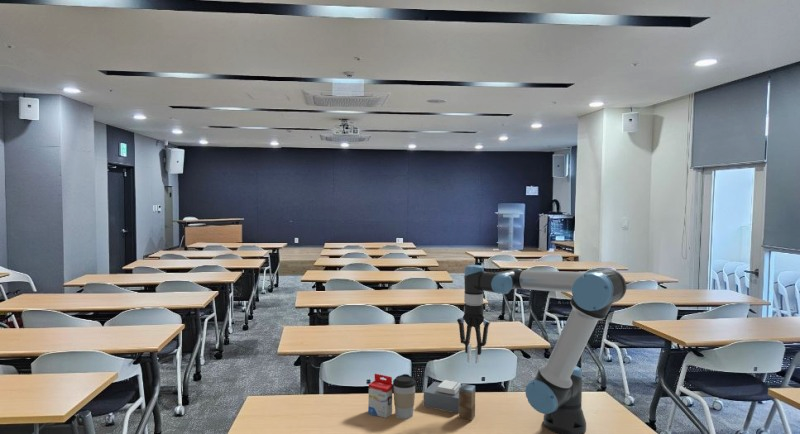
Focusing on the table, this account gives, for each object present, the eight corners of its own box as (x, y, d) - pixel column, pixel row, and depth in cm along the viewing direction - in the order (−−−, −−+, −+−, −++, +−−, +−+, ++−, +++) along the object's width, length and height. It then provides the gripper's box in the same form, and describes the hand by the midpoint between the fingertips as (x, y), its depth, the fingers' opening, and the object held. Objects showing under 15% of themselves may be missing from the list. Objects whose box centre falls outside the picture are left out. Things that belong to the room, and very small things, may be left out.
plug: (475, 416, 180) (475, 385, 180) (471, 421, 176) (471, 390, 175) (462, 413, 182) (463, 383, 182) (458, 419, 178) (459, 388, 177)
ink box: (367, 413, 182) (367, 377, 181) (374, 408, 186) (374, 373, 186) (386, 418, 178) (386, 381, 177) (392, 413, 182) (392, 376, 182)
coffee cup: (413, 421, 176) (413, 382, 175) (390, 419, 177) (390, 380, 177) (417, 410, 185) (417, 373, 184) (395, 408, 186) (395, 372, 186)
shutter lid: (460, 387, 192) (460, 382, 192) (454, 394, 185) (454, 389, 185) (444, 384, 195) (444, 379, 195) (437, 391, 188) (437, 385, 188)
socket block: (467, 401, 193) (467, 387, 193) (458, 413, 182) (458, 398, 182) (434, 395, 200) (434, 381, 200) (423, 406, 189) (423, 391, 189)
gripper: (495, 303, 185) (494, 361, 186) (457, 300, 192) (457, 356, 192) (490, 307, 178) (490, 367, 179) (452, 303, 185) (451, 361, 186)
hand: (473, 361), depth 186 cm, fingers open, 3 cm apart
